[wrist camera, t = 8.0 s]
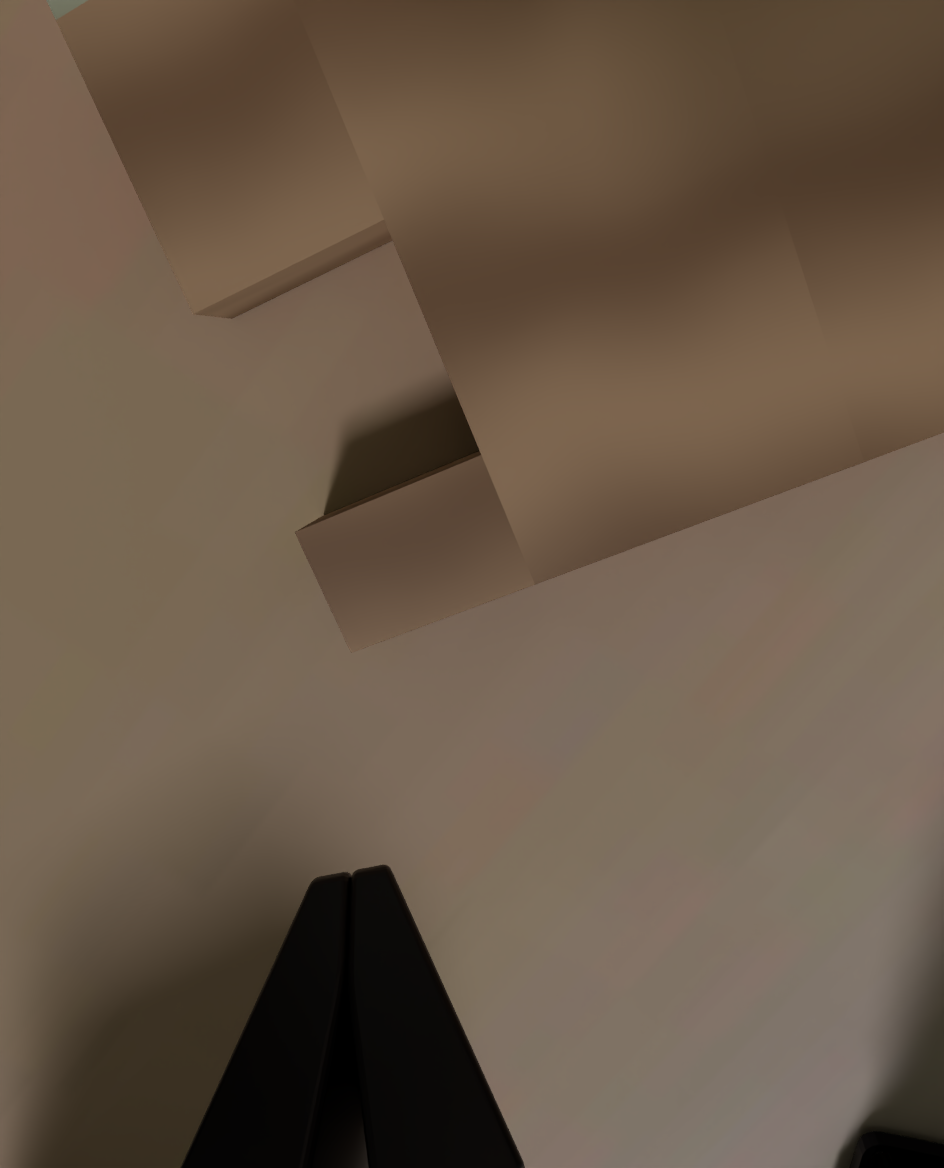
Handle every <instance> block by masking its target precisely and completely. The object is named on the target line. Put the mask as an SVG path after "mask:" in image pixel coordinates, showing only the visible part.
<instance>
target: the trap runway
mask: <svg viewBox="0 0 944 1168" xmlns="http://www.w3.org/2000/svg"><path fill="white" fill-rule="evenodd" d="M47 2H48V4H49V6H50V8H51V11H52V13H53V15H54V17H55V19H56V21H57V23H58V26H59V28H60V30H61V32H62V34H63V36H64V38H65V41H66V43H67V45H68V47H69V49H70V51H71V53H72V56H73V58H74V60H75V62H76V64H77V66H78V68H79V71H80V73H81V75H82V77H83V79H84V81H85V83H86V86H87V88H88V90H89V92H90V94H91V96H92V98H93V101H94V103H95V105H96V107H97V109H98V111H99V113H100V116H101V118H102V120H103V122H104V124H105V126H106V128H107V131H108V133H109V135H110V137H111V139H112V141H113V143H114V146H115V148H116V150H117V152H118V154H119V156H120V158H121V161H122V163H123V165H124V167H125V169H126V171H127V173H128V176H129V178H130V180H131V182H132V184H133V186H134V188H135V191H136V193H137V195H138V197H139V199H140V201H141V203H142V206H143V208H144V210H145V212H146V214H147V216H148V219H149V221H150V223H151V225H152V227H153V229H154V231H155V234H156V236H157V238H158V240H159V242H160V244H161V246H162V249H163V251H164V253H165V255H166V257H167V259H168V261H169V264H170V266H171V268H172V270H173V272H174V274H175V276H176V279H177V281H178V283H179V285H180V287H181V289H182V291H183V294H184V296H185V298H186V300H187V302H188V304H189V306H190V309H191V311H192V313H193V314H196V315H205V316H214V317H222V318H231V319H232V318H234V317H236V316H238V315H240V314H242V313H244V312H246V311H248V310H250V309H252V308H255V307H257V306H259V305H261V304H263V303H265V302H267V301H269V300H271V299H273V298H275V297H277V296H279V295H281V294H283V293H285V292H287V291H289V290H291V289H293V288H295V287H298V286H300V285H302V284H304V283H306V282H308V281H310V280H312V279H314V278H316V277H318V276H320V275H322V274H324V273H326V272H328V271H330V270H332V269H334V268H336V267H339V266H341V265H343V264H345V263H347V262H349V261H351V260H353V259H355V258H357V257H359V256H361V255H363V254H365V253H367V252H369V251H371V250H373V249H375V248H377V247H379V246H382V245H384V244H386V243H388V242H390V241H392V240H393V242H394V245H395V247H396V250H397V252H398V255H399V257H400V259H401V262H402V264H403V267H404V269H405V271H406V274H407V276H408V279H409V281H410V284H411V286H412V288H413V291H414V293H415V296H416V298H417V300H418V303H419V305H420V308H421V310H422V313H423V315H424V317H425V320H426V322H427V325H428V327H429V329H430V332H431V334H432V337H433V339H434V342H435V344H436V346H437V349H438V351H439V354H440V356H441V359H442V361H443V363H444V366H445V368H446V371H447V373H448V375H449V378H450V380H451V383H452V385H453V388H454V390H455V392H456V395H457V397H458V400H459V402H460V404H461V407H462V409H463V412H464V414H465V417H466V419H467V421H468V424H469V426H470V429H471V431H472V433H473V436H474V438H475V441H476V443H477V446H478V448H479V450H480V451H478V452H475V453H473V454H470V455H468V456H466V457H463V458H461V459H458V460H456V461H454V462H451V463H449V464H446V465H444V466H442V467H439V468H437V469H434V470H432V471H430V472H427V473H425V474H422V475H420V476H418V477H415V478H413V479H410V480H408V481H406V482H403V483H401V484H398V485H396V486H394V487H391V488H389V489H386V490H384V491H381V492H379V493H377V494H374V495H372V496H369V497H367V498H365V499H362V500H360V501H357V502H355V503H353V504H350V505H348V506H345V507H343V508H341V509H338V510H336V511H333V512H331V513H329V514H326V515H324V516H322V517H320V518H318V519H317V520H315V521H313V522H311V523H310V524H308V525H306V526H305V527H303V528H301V529H300V530H298V531H296V532H295V534H296V536H297V538H298V540H299V542H300V544H301V547H302V549H303V551H304V553H305V555H306V557H307V559H308V562H309V564H310V566H311V568H312V570H313V572H314V574H315V577H316V579H317V581H318V583H319V585H320V587H321V589H322V592H323V594H324V596H325V598H326V600H327V602H328V604H329V607H330V609H331V611H332V613H333V615H334V617H335V619H336V622H337V624H338V626H339V628H340V630H341V632H342V634H343V637H344V639H345V641H346V643H347V645H348V647H349V649H350V652H351V653H352V652H355V651H358V650H360V649H363V648H366V647H368V646H371V645H374V644H377V643H379V642H382V641H385V640H387V639H390V638H393V637H395V636H398V635H401V634H403V633H406V632H409V631H411V630H414V629H417V628H420V627H422V626H425V625H428V624H430V623H433V622H436V621H438V620H441V619H444V618H446V617H449V616H452V615H454V614H457V613H460V612H462V611H465V610H468V609H471V608H473V607H476V606H479V605H481V604H484V603H487V602H489V601H492V600H495V599H497V598H500V597H503V596H505V595H508V594H511V593H514V592H516V591H519V590H522V589H524V588H527V587H530V586H532V585H535V584H538V583H540V582H543V581H546V580H548V579H551V578H554V577H557V576H559V575H562V574H565V573H567V572H570V571H573V570H575V569H578V568H581V567H583V566H586V565H589V564H591V563H594V562H597V561H600V560H602V559H605V558H608V557H610V556H613V555H616V554H618V553H621V552H624V551H626V550H629V549H632V548H634V547H637V546H640V545H643V544H645V543H648V542H651V541H653V540H656V539H659V538H661V537H664V536H667V535H669V534H672V533H675V532H677V531H680V530H683V529H685V528H688V527H691V526H694V525H696V524H699V523H702V522H704V521H707V520H710V519H712V518H715V517H718V516H720V515H723V514H726V513H728V512H731V511H734V510H737V509H739V508H742V507H745V506H747V505H750V504H753V503H755V502H758V501H761V500H763V499H766V498H769V497H771V496H774V495H777V494H780V493H782V492H785V491H788V490H790V489H793V488H796V487H798V486H801V485H804V484H806V483H809V482H812V481H814V480H817V479H820V478H823V477H825V476H828V475H831V474H833V473H836V472H839V471H841V470H844V469H847V468H849V467H852V466H855V465H857V464H860V463H863V462H866V461H868V460H871V459H874V458H876V457H879V456H882V455H884V454H887V453H890V452H892V451H895V450H898V449H900V448H903V447H906V446H908V445H911V444H914V443H917V442H919V441H922V440H925V439H927V438H930V437H933V436H935V435H938V434H941V433H943V432H944V0H47Z"/></svg>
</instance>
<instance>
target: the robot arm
mask: <svg viewBox="0 0 944 1168" xmlns="http://www.w3.org/2000/svg"><path fill="white" fill-rule="evenodd" d="M878 1152H882V1153H880V1154H875V1153H878ZM181 1168H525V1167H524V1163H523V1160H522V1158H521V1156H520V1153H519V1151H518V1149H517V1147H516V1145H515V1142H514V1140H513V1138H512V1136H511V1134H510V1131H509V1129H508V1127H507V1125H506V1122H505V1120H504V1118H503V1116H502V1114H501V1111H500V1109H499V1107H498V1105H497V1103H496V1100H495V1098H494V1096H493V1094H492V1091H491V1089H490V1087H489V1085H488V1083H487V1080H486V1078H485V1076H484V1074H483V1072H482V1069H481V1067H480V1065H479V1063H478V1061H477V1058H476V1056H475V1054H474V1052H473V1049H472V1047H471V1045H470V1043H469V1041H468V1038H467V1036H466V1034H465V1032H464V1030H463V1027H462V1025H461V1023H460V1021H459V1018H458V1016H457V1014H456V1012H455V1010H454V1007H453V1005H452V1003H451V1001H450V999H449V996H448V994H447V992H446V990H445V988H444V985H443V983H442V981H441V979H440V976H439V974H438V972H437V970H436V968H435V965H434V963H433V961H432V959H431V957H430V954H429V952H428V950H427V948H426V946H425V943H424V941H423V939H422V937H421V934H420V932H419V930H418V928H417V926H416V923H415V921H414V919H413V917H412V915H411V912H410V910H409V908H408V906H407V903H406V901H405V899H404V897H403V895H402V892H401V890H400V888H399V886H398V884H397V881H396V879H395V877H394V875H393V873H392V871H391V869H390V867H389V866H387V865H379V866H374V867H369V868H363V869H358V870H356V871H355V872H354V873H353V875H352V876H351V874H350V873H348V872H342V873H337V874H331V875H326V876H321V877H317V878H315V879H314V880H313V881H312V882H311V884H310V885H309V887H308V889H307V891H306V894H305V896H304V898H303V900H302V902H301V905H300V907H299V909H298V911H297V913H296V916H295V918H294V920H293V922H292V924H291V926H290V929H289V931H288V933H287V935H286V937H285V940H284V942H283V944H282V946H281V948H280V951H279V953H278V955H277V957H276V959H275V962H274V964H273V966H272V968H271V970H270V973H269V975H268V977H267V979H266V981H265V984H264V986H263V988H262V990H261V992H260V994H259V997H258V999H257V1001H256V1003H255V1005H254V1008H253V1010H252V1012H251V1014H250V1016H249V1019H248V1021H247V1023H246V1025H245V1027H244V1030H243V1032H242V1034H241V1036H240V1038H239V1041H238V1043H237V1045H236V1047H235V1049H234V1052H233V1054H232V1056H231V1058H230V1060H229V1063H228V1065H227V1067H226V1069H225V1071H224V1073H223V1076H222V1078H221V1080H220V1082H219V1084H218V1087H217V1089H216V1091H215V1093H214V1095H213V1098H212V1100H211V1102H210V1104H209V1106H208V1109H207V1111H206V1113H205V1115H204V1117H203V1120H202V1122H201V1124H200V1126H199V1128H198V1131H197V1133H196V1135H195V1137H194V1139H193V1142H192V1144H191V1146H190V1148H189V1150H188V1152H187V1155H186V1157H185V1159H184V1161H183V1163H182V1166H181ZM850 1168H944V1145H943V1144H938V1143H933V1142H928V1141H924V1140H919V1139H914V1138H909V1137H904V1136H900V1135H895V1134H890V1133H885V1132H877V1131H873V1132H869V1133H866V1134H865V1135H863V1136H862V1137H861V1138H860V1139H859V1141H858V1143H857V1146H856V1150H855V1153H854V1156H853V1159H852V1162H851V1165H850Z"/></svg>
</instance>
